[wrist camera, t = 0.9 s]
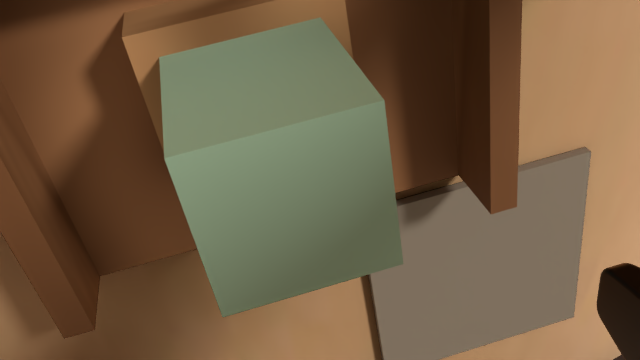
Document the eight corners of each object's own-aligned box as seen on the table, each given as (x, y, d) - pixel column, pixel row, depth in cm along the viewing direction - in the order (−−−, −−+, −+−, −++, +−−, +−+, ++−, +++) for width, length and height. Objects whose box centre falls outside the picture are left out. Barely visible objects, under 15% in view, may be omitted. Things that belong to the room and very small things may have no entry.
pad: (585, 147, 26) (591, 151, 25) (569, 311, 31) (573, 317, 31) (358, 211, 25) (360, 217, 24) (383, 369, 30) (386, 376, 30)
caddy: (464, -185, 18) (526, -181, 15) (473, 158, 25) (517, 206, 22) (-102, -63, 16) (-156, -31, 13) (74, 269, 23) (64, 338, 20)
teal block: (320, 17, 17) (384, 100, 12) (343, 153, 19) (403, 264, 15) (159, 57, 16) (164, 158, 12) (204, 191, 19) (222, 317, 14)
